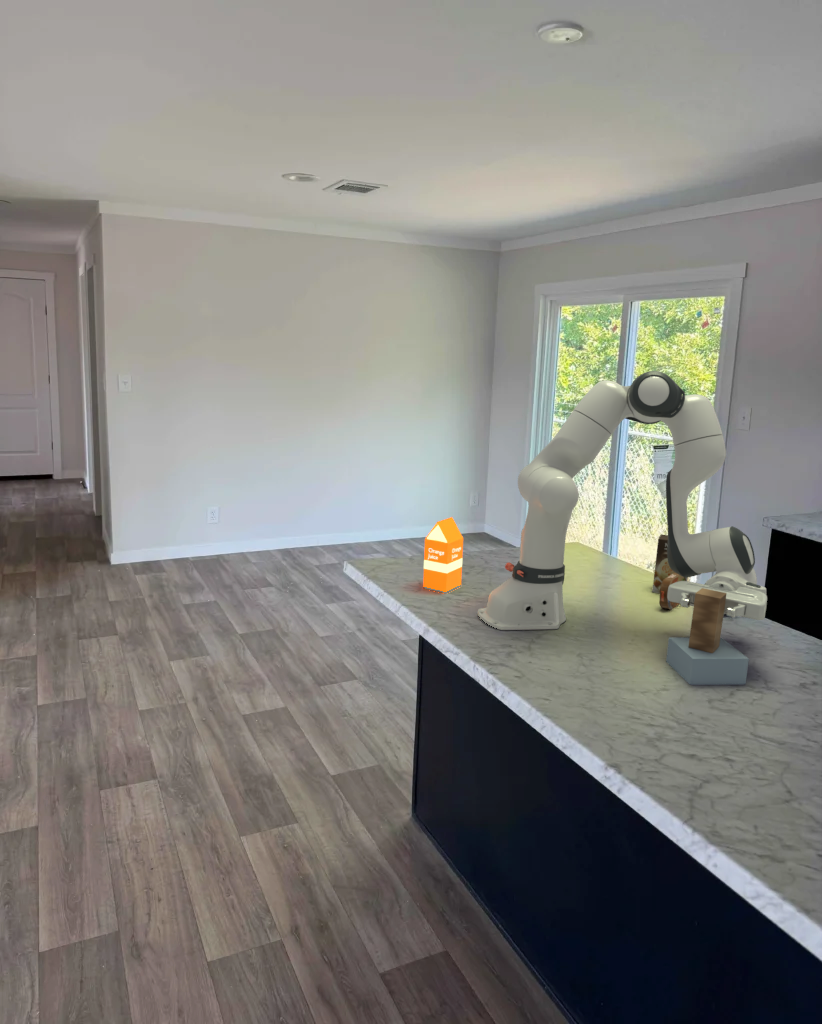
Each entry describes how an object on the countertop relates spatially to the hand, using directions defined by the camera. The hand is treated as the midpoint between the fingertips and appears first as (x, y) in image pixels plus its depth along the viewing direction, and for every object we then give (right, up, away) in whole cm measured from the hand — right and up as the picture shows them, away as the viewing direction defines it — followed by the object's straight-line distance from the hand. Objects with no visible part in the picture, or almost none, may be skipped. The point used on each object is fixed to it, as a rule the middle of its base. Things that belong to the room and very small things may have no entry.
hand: (706, 608), depth 160 cm
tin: (+9, -5, +48) cm, 49 cm away
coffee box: (+12, -3, +60) cm, 61 cm away
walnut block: (0, -8, +2) cm, 9 cm away
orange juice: (-53, -1, +57) cm, 78 cm away
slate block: (+1, -14, +3) cm, 15 cm away
